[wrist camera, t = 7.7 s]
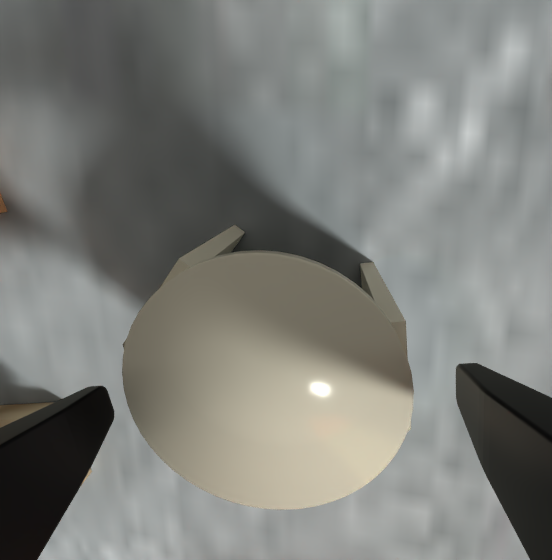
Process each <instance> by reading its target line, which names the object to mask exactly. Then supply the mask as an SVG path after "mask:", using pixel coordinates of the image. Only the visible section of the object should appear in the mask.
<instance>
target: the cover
mask: <svg viewBox="0 0 552 560" xmlns="http://www.w3.org/2000/svg"><path fill="white" fill-rule="evenodd" d="M244 234H245V232H244V231H243V230H241V229H240V228H239V227H237V226H236V225H234V226H232V227H230V228H229V229H227V230H225V231H224V232H222V233H220V234H219V235H217V236H215V237H214V238H212V239H210V240H209V241H207V242H205V243H204V244H202V245H200V246H199V247H197V248H195V249H194V250H192V251H190V252H189V253H187V254H185V255H184V256H182V257H180V258H179V259H178V261H177V262H176V264H175V265H174V267H173V268H172V270H171V271H170V273H169V274H168V276H167V278H166V279H165V281H164V282H163V284H162V285H161V287H160V288H159V289H158V290H157V291H156V292H155V293H154V294H153V295H152V296H151V297H150V298H149V299H148V301H147V302H146V303H145V305H144V306H143V307H142V309H141V310H140V311H139V313H138V315H137V317H136V319H135V320H134V322H133V324H132V326H131V329H130V331H129V334H128V337H127V339H126V340H125V342H124V343H123V347H124V354H123V367H122V375H123V385H124V391H125V395H126V400H127V404H128V406H129V409H130V412H131V414H132V417H133V419H134V421H135V423H136V425H137V427H138V429H139V431H140V432H141V434H142V436H143V437H144V438H145V440H146V441H147V443H148V444H149V446H150V447H151V448H152V449H153V450H154V452H155V453H156V454H157V455H158V456H159V457H160V458H161V459H162V460H163V461H164V462H165V463H166V464H167V465H168V466H169V467H170V468H171V469H172V470H174V471H175V472H176V473H178V474H179V475H180V476H182V477H183V478H184V479H186V480H187V481H189V482H190V483H192V484H194V485H195V486H197V487H199V488H200V489H202V490H204V491H206V492H208V493H211V494H213V495H215V496H217V497H220V498H223V499H225V500H228V501H231V502H234V503H238V504H242V505H246V506H251V507H257V508H264V509H279V510H285V509H301V508H308V507H314V506H318V505H322V504H326V503H329V502H332V501H335V500H338V499H340V498H343V497H345V496H347V495H349V494H351V493H353V492H355V491H356V490H358V489H360V488H362V487H363V486H364V485H366V484H367V483H369V482H370V481H371V480H373V479H374V478H375V477H376V476H377V475H378V474H379V473H380V472H381V471H382V470H383V469H384V468H386V466H387V465H388V464H389V462H390V461H391V460H392V459H393V457H394V456H395V455H396V453H397V451H398V450H399V448H400V446H401V444H402V442H403V441H404V438H405V436H406V433H407V432H408V431H409V430H410V429H411V415H412V410H413V392H414V390H413V382H412V374H411V370H410V366H409V363H408V358H407V338H406V321H405V319H404V317H403V315H402V314H401V312H400V310H399V308H398V306H397V304H396V303H395V301H394V299H393V297H392V295H391V294H390V292H389V290H388V288H387V286H386V284H385V283H384V281H383V279H382V277H381V275H380V273H379V272H378V270H377V268H376V266H375V264H374V262H369V263H360V271H361V283H362V289H361V288H360V287H359V286H358V285H357V284H356V283H354V282H353V281H351V280H350V279H348V278H347V277H345V276H344V275H342V274H341V273H339V272H338V271H336V270H334V269H332V268H330V267H328V266H326V265H324V264H322V263H319V262H317V261H314V260H311V259H308V258H305V257H302V256H299V255H294V254H289V253H284V252H278V251H265V250H252V251H238V252H232V250H233V249H234V248H235V246H236V245H237V243H238V242H239V241H240V239H241V238H242V236H243V235H244ZM231 252H232V253H231Z"/></svg>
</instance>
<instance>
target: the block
mask: <svg viewBox="0 0 552 560" xmlns="http://www.w3.org/2000/svg"><path fill="white" fill-rule="evenodd" d="M4 212H7V209H6V207H5V204H4V201H3V199H2V196H1V194H0V213H4Z"/></svg>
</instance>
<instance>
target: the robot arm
mask: <svg viewBox="0 0 552 560" xmlns="http://www.w3.org/2000/svg"><path fill="white" fill-rule="evenodd" d="M456 399H457V404H458V407H459V409H460V412H461V415H462V417H463V420H464V422H465V425H466V427H467V430H468V432H469V435H470V438H471V440H472V443H473V445H474V448H475V450H476V453H477V455H478V458H479V460H480V463H481V465H482V468H483V470H484V472H485V474H486V476H487V478H488V480H489V482H490V484H491V486H492V488H493V490H494V491H495V493H496V495H497V497H498V499H499V501H500V503H501V505H502V507H503V509H504V511H505V512H506V514H507V516H508V518H509V520H510V522H511V524H512V526H513V528H514V530H515V532H516V533H517V535H518V537H519V539H520V541H521V543H522V545H523V547H524V549H525V551H526V553H527V554H528V556H529V558H530V560H552V398H551V397H549V396H547V395H545V394H542V393H540V392H538V391H536V390H534V389H532V388H529V387H527V386H525V385H523V384H521V383H519V382H516V381H514V380H512V379H510V378H508V377H506V376H503V375H501V374H499V373H497V372H495V371H493V370H490V369H488V368H486V367H484V366H482V365H480V364H477V363H466V364H459V365H457V367H456ZM113 420H114V409H113V406H112V403H111V400H110V397H109V394H108V391H107V389H106V388H105V387H103V386H91V387H87V388H85V389H83V390H81V391H78V392H76V393H74V394H72V395H70V396H68V397H65V398H63V399H61V400H59V401H57V402H55V403H52V404H50V405H48V406H46V407H44V408H42V409H40V410H37V411H35V412H33V413H31V414H29V415H27V416H24V417H22V418H20V419H18V420H16V421H14V422H11V423H9V424H7V425H5V426H3V427H1V428H0V560H37V559H38V558H39V556H40V554H41V552H42V551H43V549H44V547H45V546H46V544H47V542H48V541H49V539H50V537H51V535H52V534H53V532H54V530H55V529H56V527H57V525H58V524H59V522H60V520H61V519H62V517H63V515H64V513H65V512H66V510H67V508H68V507H69V505H70V503H71V502H72V500H73V498H74V496H75V495H76V493H77V491H78V490H79V488H80V486H81V485H82V483H83V481H84V479H85V477H86V476H87V474H88V472H89V470H90V468H91V466H92V464H93V462H94V460H95V458H96V456H97V453H98V451H99V449H100V447H101V445H102V443H103V441H104V439H105V437H106V435H107V433H108V431H109V428H110V426H111V424H112V422H113Z"/></svg>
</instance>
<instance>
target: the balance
mask: <svg viewBox="0 0 552 560" xmlns="http://www.w3.org/2000/svg"><path fill="white" fill-rule="evenodd" d="M52 403H55V402H50V403H32V404H14V405H0V428H1V427H3V426H5V425H7V424H9V423H11V422H14V421H16V420H18V419H20V418H22V417H24V416H27V415H29V414H31V413H33V412H35V411H37V410H40V409H42V408H44V407H46V406H48V405H50V404H52ZM90 473H91V469H90V470H89V472H88V474H87V476H86V477H85V479H84V481H85V480H86V479H87V477H88V476H89V475H90ZM84 481H83V482H84ZM82 484H83V483H82Z"/></svg>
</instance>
